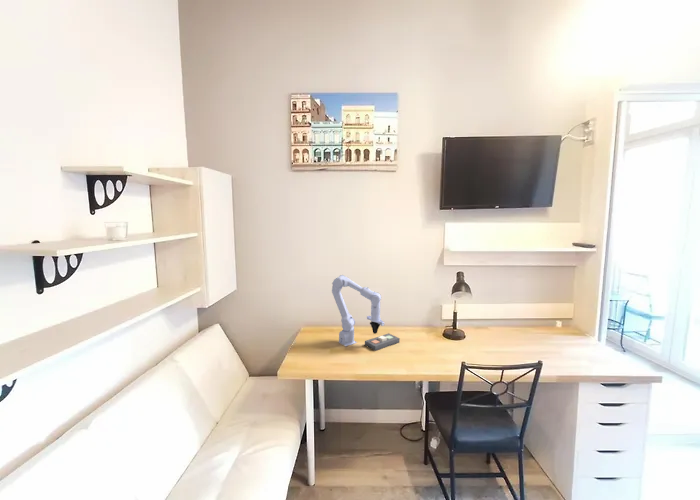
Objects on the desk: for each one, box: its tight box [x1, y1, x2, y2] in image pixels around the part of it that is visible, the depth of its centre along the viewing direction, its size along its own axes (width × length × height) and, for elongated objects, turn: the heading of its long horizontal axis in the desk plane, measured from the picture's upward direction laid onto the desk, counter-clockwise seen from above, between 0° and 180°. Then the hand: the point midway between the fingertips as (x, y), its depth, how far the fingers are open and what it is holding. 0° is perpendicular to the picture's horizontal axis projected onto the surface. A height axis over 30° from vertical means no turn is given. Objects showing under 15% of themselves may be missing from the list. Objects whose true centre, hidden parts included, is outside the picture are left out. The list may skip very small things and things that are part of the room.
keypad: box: [364, 332, 401, 352], centre depth 213 cm, size 21×10×3 cm, turn 127°
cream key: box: [377, 335, 387, 342], centre depth 213 cm, size 4×4×2 cm
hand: (375, 333), depth 209 cm, fingers closed
